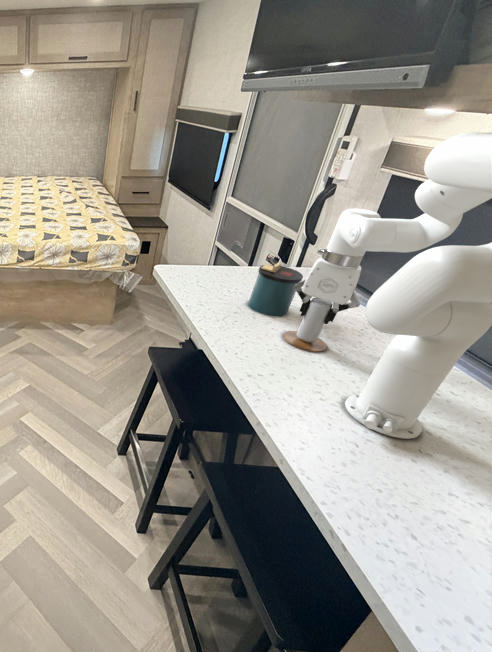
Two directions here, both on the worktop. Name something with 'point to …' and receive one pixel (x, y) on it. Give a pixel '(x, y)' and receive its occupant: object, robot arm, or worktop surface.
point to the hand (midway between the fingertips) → (314, 318)
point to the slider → (272, 267)
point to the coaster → (304, 342)
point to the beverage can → (314, 319)
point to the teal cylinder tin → (274, 291)
